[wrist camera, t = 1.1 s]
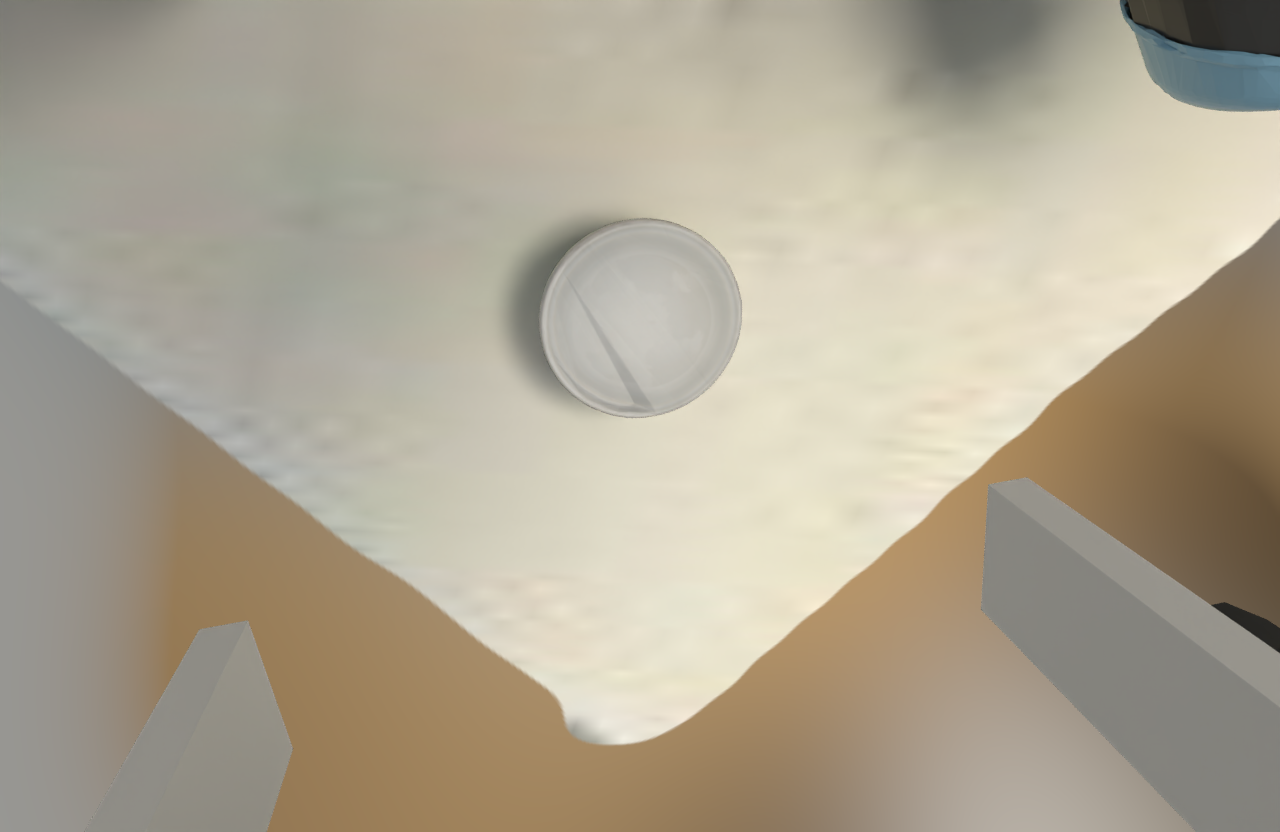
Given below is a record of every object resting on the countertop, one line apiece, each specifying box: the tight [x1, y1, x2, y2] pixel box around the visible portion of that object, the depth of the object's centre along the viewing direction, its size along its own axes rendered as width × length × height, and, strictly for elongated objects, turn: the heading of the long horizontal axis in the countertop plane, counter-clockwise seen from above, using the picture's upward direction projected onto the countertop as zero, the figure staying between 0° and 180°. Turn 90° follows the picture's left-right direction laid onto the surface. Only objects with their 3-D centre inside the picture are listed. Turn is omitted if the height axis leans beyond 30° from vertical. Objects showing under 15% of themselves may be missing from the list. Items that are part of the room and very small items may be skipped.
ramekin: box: [539, 218, 742, 418], centre depth 46 cm, size 11×11×5 cm
